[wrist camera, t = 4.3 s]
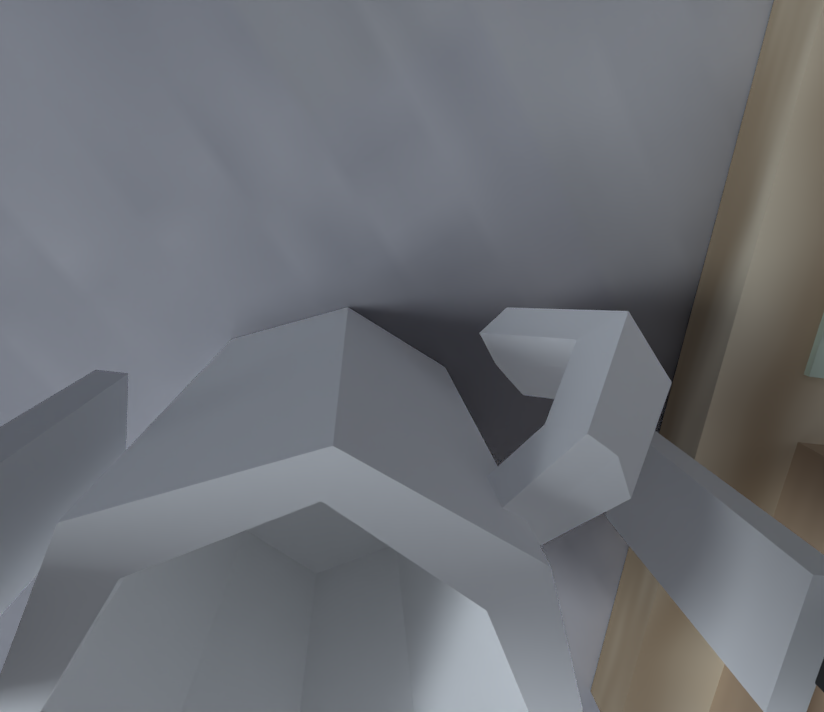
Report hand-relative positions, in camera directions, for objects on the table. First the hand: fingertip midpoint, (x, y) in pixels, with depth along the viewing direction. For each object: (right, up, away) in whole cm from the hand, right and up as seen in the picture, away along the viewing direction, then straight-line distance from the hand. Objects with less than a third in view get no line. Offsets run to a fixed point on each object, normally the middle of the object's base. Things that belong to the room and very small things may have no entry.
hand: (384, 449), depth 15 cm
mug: (0, +1, +3) cm, 3 cm away
